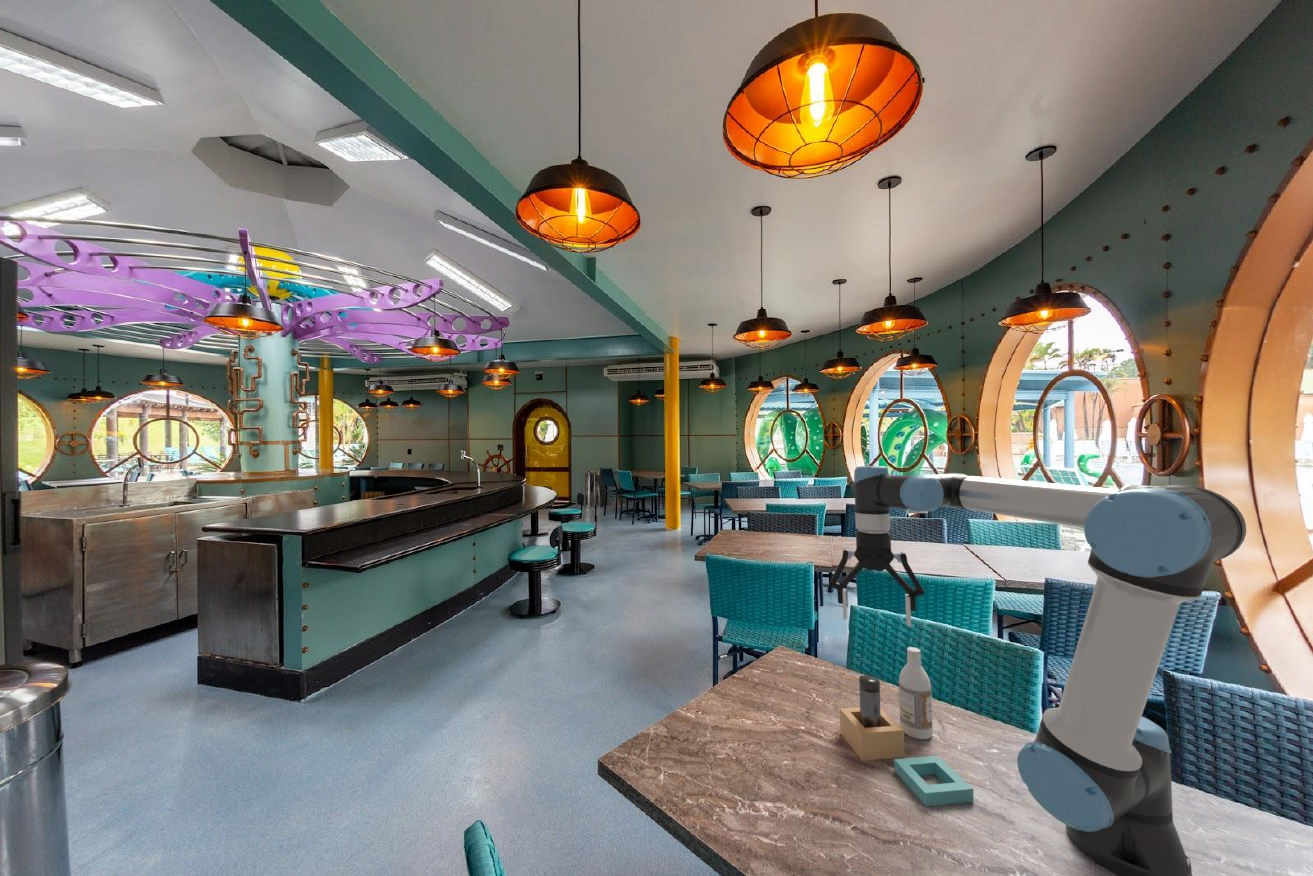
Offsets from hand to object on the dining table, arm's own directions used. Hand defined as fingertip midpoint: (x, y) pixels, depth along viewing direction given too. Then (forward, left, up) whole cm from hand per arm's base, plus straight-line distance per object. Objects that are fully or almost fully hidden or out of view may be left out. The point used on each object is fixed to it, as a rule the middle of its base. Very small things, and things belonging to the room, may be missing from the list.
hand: (876, 621), depth 110 cm
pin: (0, +2, -28) cm, 28 cm away
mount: (-14, -3, -29) cm, 32 cm away
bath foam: (+4, -12, -29) cm, 31 cm away
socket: (0, +2, -29) cm, 29 cm away
